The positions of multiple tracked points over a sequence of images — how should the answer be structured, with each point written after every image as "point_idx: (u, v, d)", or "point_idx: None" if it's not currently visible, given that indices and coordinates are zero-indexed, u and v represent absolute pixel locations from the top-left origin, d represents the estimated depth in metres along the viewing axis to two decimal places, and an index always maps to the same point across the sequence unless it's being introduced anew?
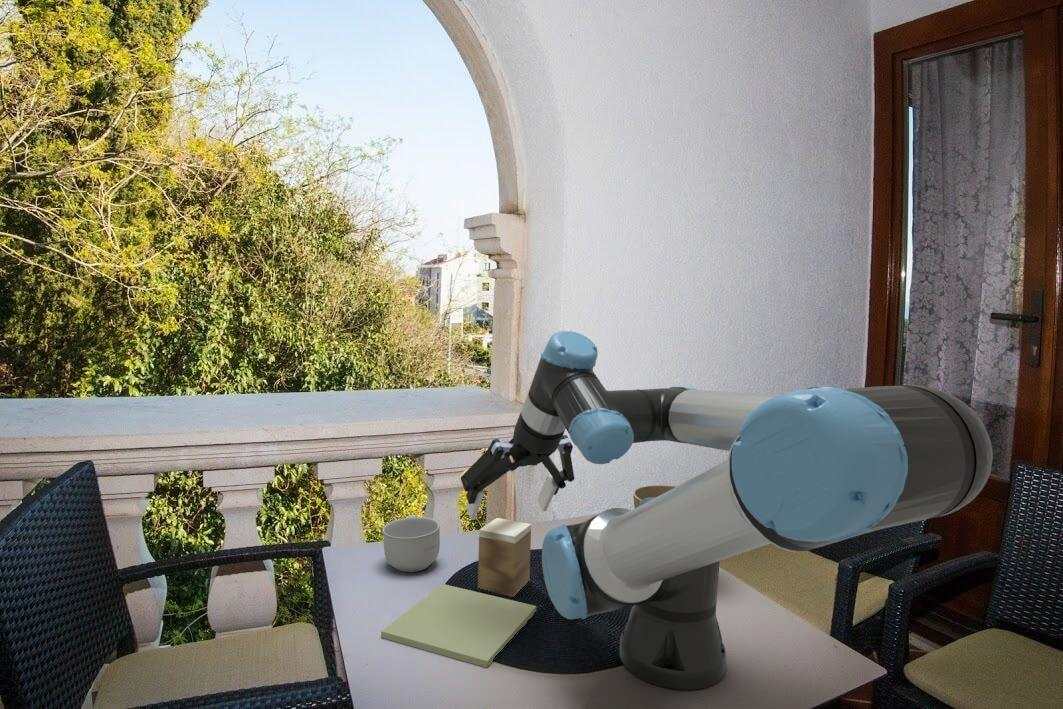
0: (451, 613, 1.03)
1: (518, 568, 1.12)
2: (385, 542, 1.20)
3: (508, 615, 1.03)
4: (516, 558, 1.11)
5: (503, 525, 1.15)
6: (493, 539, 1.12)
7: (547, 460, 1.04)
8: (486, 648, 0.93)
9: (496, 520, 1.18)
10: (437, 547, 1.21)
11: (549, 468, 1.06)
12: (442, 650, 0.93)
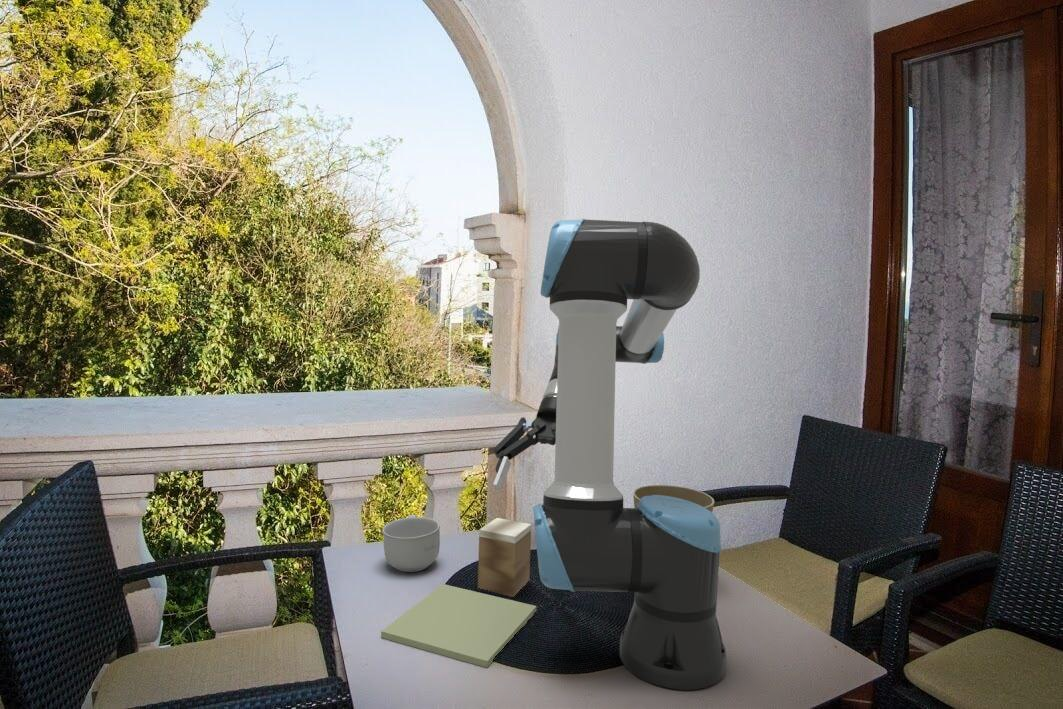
0: (451, 613, 1.03)
1: (518, 568, 1.12)
2: (385, 542, 1.20)
3: (508, 615, 1.03)
4: (516, 558, 1.11)
5: (503, 525, 1.15)
6: (493, 539, 1.12)
7: None
8: (486, 648, 0.93)
9: (496, 520, 1.18)
10: (437, 547, 1.21)
11: None
12: (442, 650, 0.93)
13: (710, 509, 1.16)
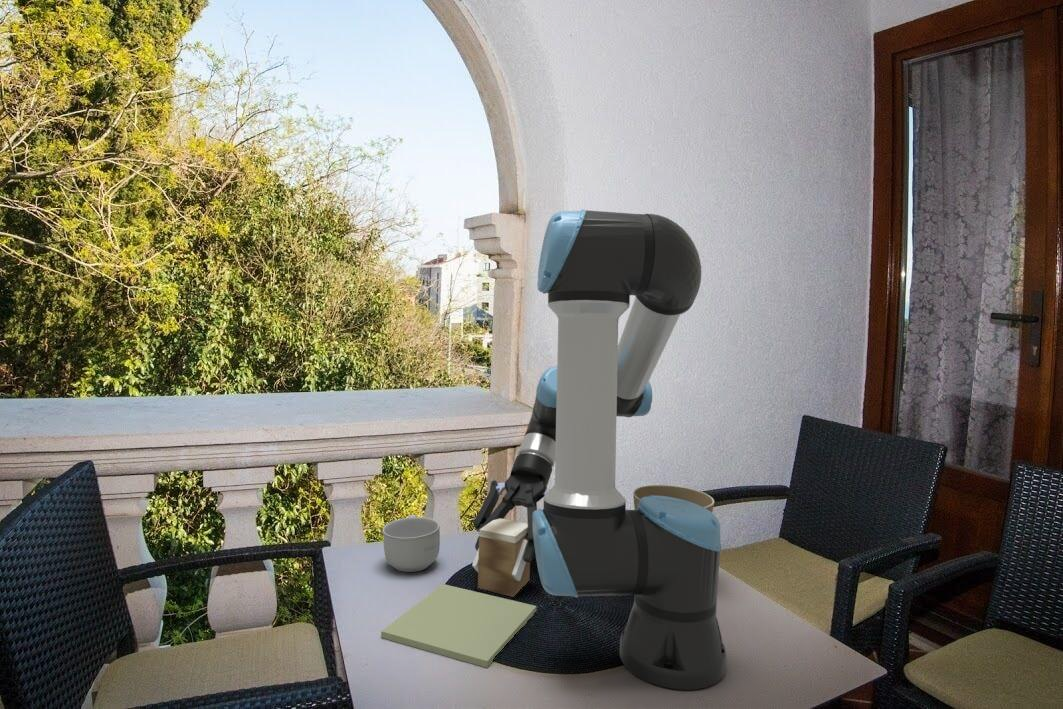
0: (451, 613, 1.03)
1: None
2: (385, 542, 1.20)
3: (508, 615, 1.03)
4: (516, 558, 1.11)
5: (503, 525, 1.15)
6: (493, 539, 1.12)
7: (530, 494, 1.19)
8: (486, 648, 0.93)
9: (496, 520, 1.18)
10: (437, 547, 1.21)
11: (529, 510, 1.17)
12: (442, 650, 0.93)
13: (710, 509, 1.16)
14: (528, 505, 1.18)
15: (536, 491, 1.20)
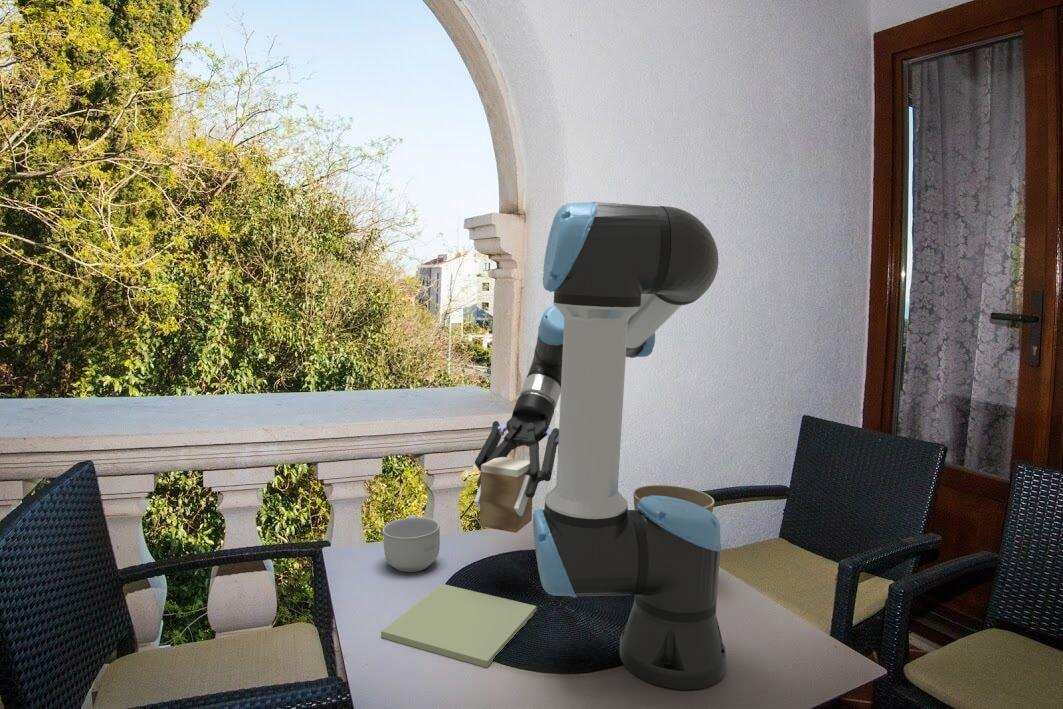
0: (451, 613, 1.03)
1: None
2: (385, 542, 1.20)
3: (508, 615, 1.03)
4: (518, 492, 1.10)
5: (505, 462, 1.14)
6: (495, 474, 1.11)
7: (532, 433, 1.18)
8: (486, 648, 0.93)
9: (498, 458, 1.17)
10: (437, 547, 1.21)
11: (531, 448, 1.16)
12: (442, 650, 0.93)
13: (710, 509, 1.16)
14: (530, 443, 1.17)
15: (538, 430, 1.19)
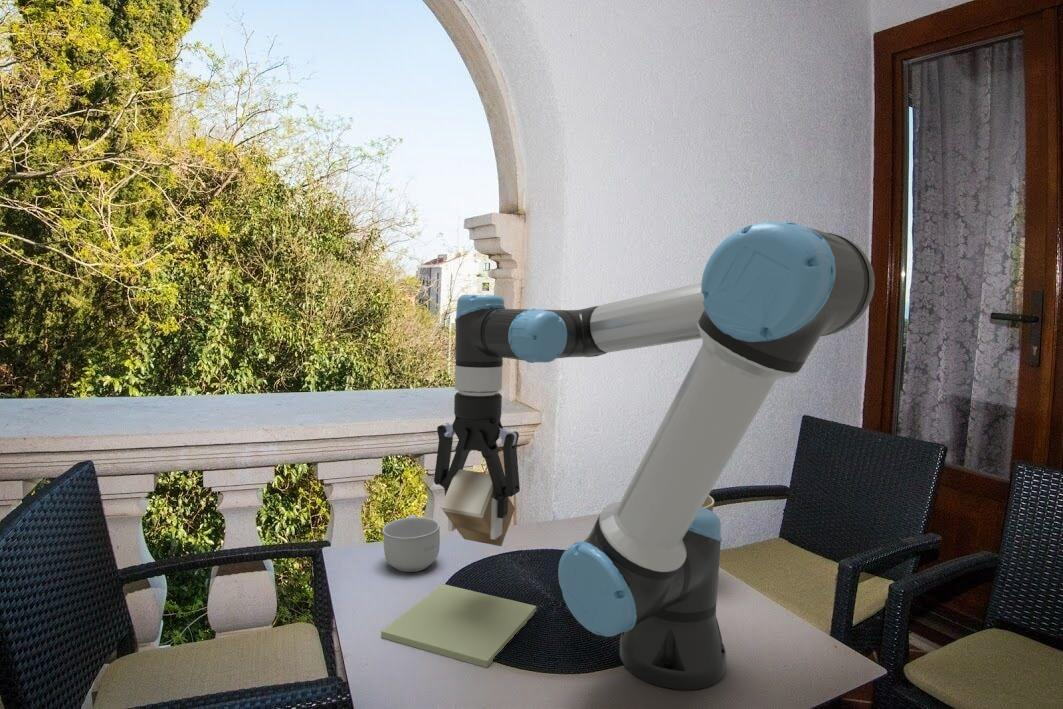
0: (451, 613, 1.03)
1: None
2: (385, 542, 1.20)
3: (508, 615, 1.03)
4: (490, 522, 1.01)
5: (465, 487, 1.01)
6: (458, 513, 1.00)
7: (484, 444, 1.00)
8: (486, 648, 0.93)
9: (457, 476, 1.03)
10: (437, 547, 1.21)
11: (488, 462, 1.00)
12: (442, 650, 0.93)
13: (710, 509, 1.16)
14: (485, 457, 1.00)
15: (489, 436, 1.00)
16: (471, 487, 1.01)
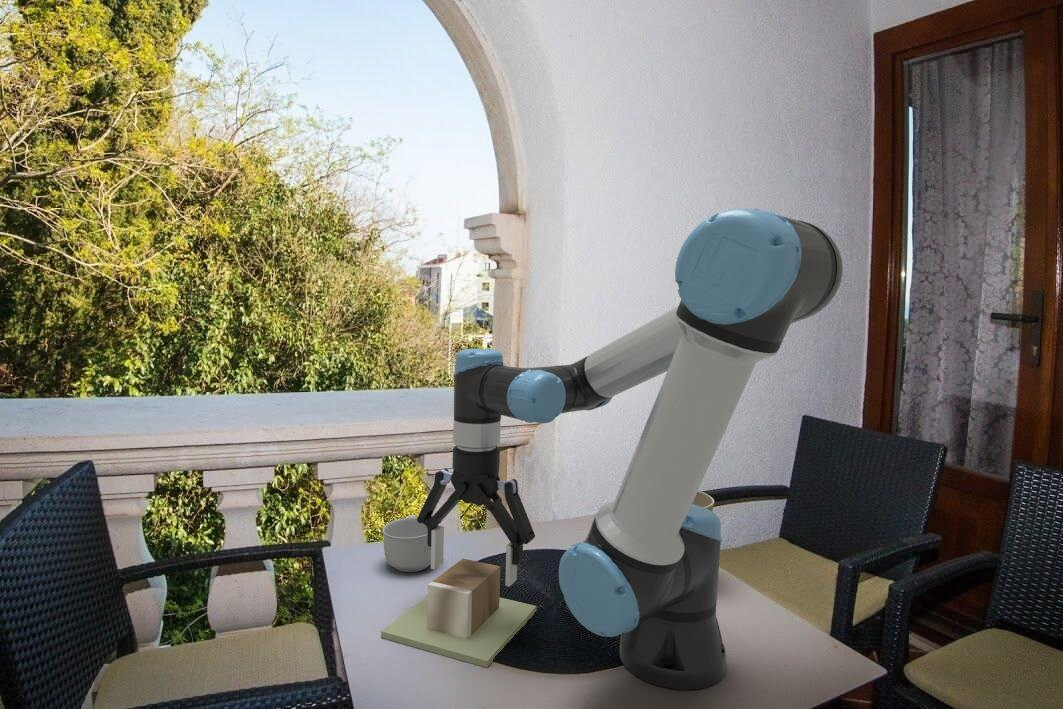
0: None
1: (486, 610, 1.01)
2: (385, 542, 1.20)
3: (508, 615, 1.03)
4: (480, 621, 0.99)
5: (443, 607, 0.97)
6: None
7: (485, 497, 1.00)
8: (486, 648, 0.93)
9: (430, 593, 0.97)
10: None
11: (494, 513, 1.00)
12: (442, 650, 0.93)
13: (710, 509, 1.16)
14: (490, 509, 1.00)
15: (489, 492, 1.00)
16: (449, 608, 0.96)
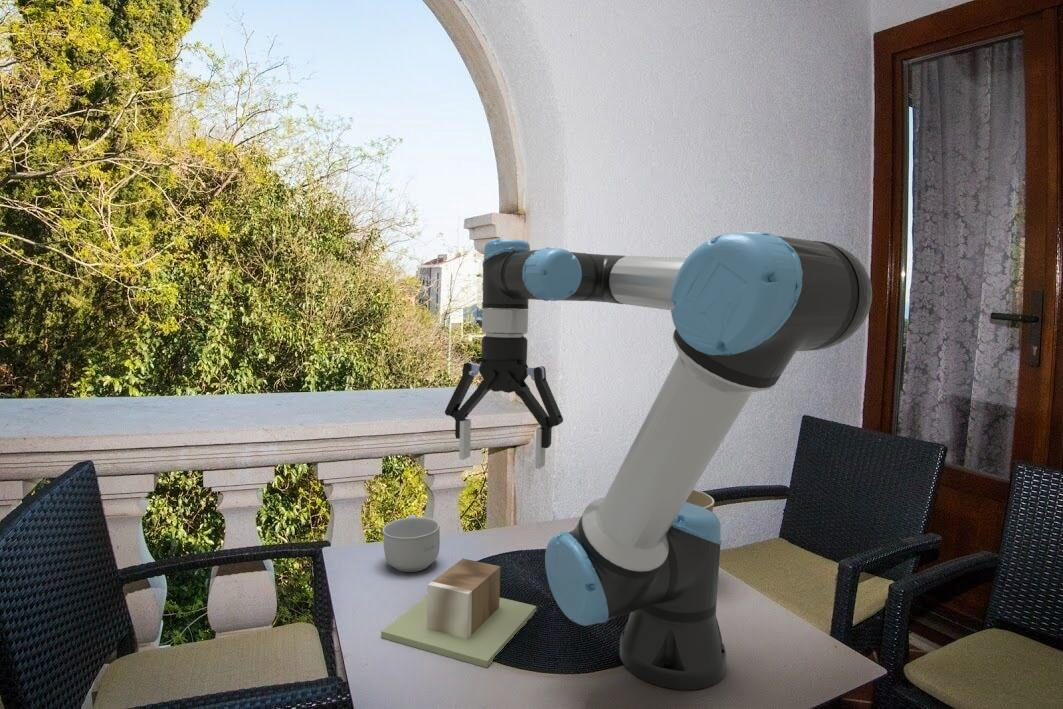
0: None
1: (486, 610, 1.01)
2: (385, 542, 1.20)
3: (508, 615, 1.03)
4: (480, 621, 0.99)
5: (443, 607, 0.97)
6: None
7: (514, 382, 1.03)
8: (486, 648, 0.93)
9: (430, 593, 0.97)
10: (437, 547, 1.21)
11: (523, 398, 1.03)
12: (442, 650, 0.93)
13: (710, 509, 1.16)
14: (519, 394, 1.03)
15: (519, 378, 1.04)
16: (449, 608, 0.96)
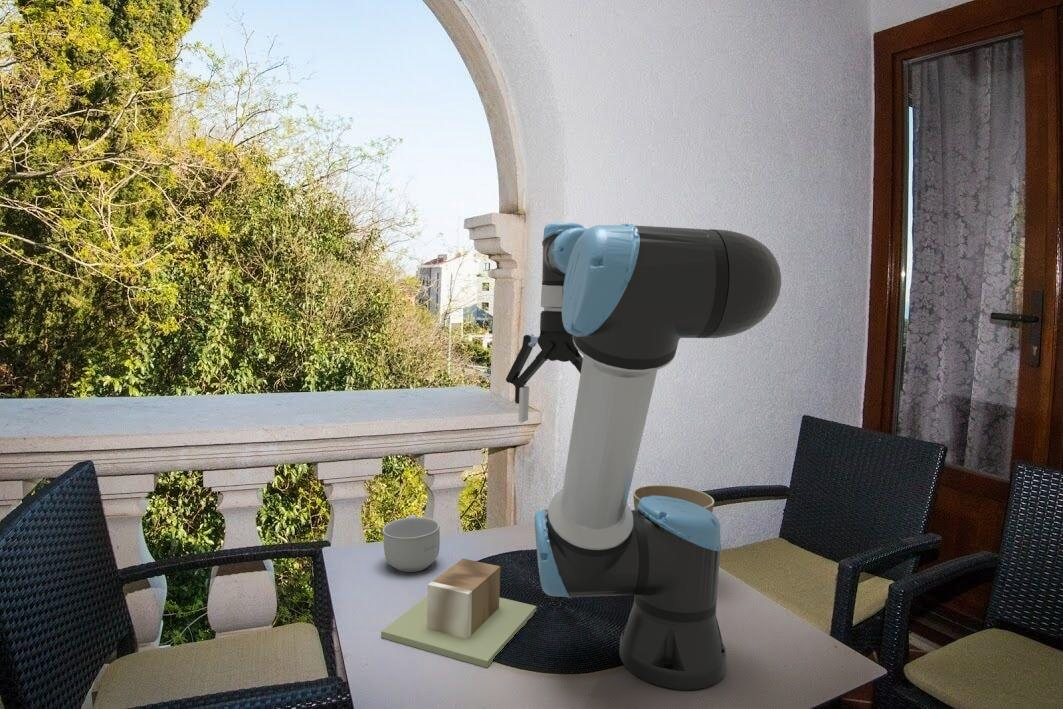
0: None
1: (486, 610, 1.01)
2: (385, 542, 1.20)
3: (508, 615, 1.03)
4: (480, 621, 0.99)
5: (443, 607, 0.97)
6: None
7: (570, 352, 1.14)
8: (486, 648, 0.93)
9: (430, 593, 0.97)
10: (437, 547, 1.21)
11: (578, 367, 1.15)
12: (442, 650, 0.93)
13: (710, 509, 1.16)
14: (574, 363, 1.15)
15: (574, 348, 1.15)
16: (449, 608, 0.96)
